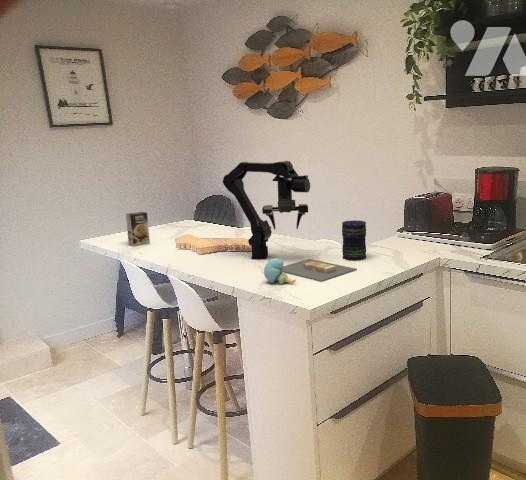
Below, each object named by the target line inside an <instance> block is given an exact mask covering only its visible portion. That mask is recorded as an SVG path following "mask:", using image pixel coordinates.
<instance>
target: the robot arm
mask: <svg viewBox="0 0 526 480" xmlns="http://www.w3.org/2000/svg"><path fill="white" fill-rule="evenodd" d="M249 172H251V173H254V172H255V173H268V174H272V175H273V176H274V175H275V177H274V178H273V179H272V182H277V206H273V205H272V204H270V205H269V204H266V205H265V204H264V205H263V206H262V209H261V210H262V211H261V213H262V215H263V214H264V215H265V217H268V218H269V220H270V222H271V224H272V227H273V230H274V231H276V219H275V215H274V214H275V213H274V212H279V213H280V214H282V213H287V214H288V213H291V212H295V211H296V212H297V218H296V230H298V229H299V225H300V222H301V219H302V217H303V216H304V215H306V214H307V213H309V205H308V204H307V203H302V204H301V203H299V204H298V205H297V206H296V199H293V193H306V194H307V193H309V192H310V191H311V182H310V179H309V176H308V174H306V175H299V174H298V172H297V171H296V170H295V168H294V166H293V163H292V162H291V161H290V160H283V161H282V160H281V161H277V162H250V161H243V162H242V161H241V162H239V163H238V164H237V166H235V167H234V168H233V169H232V170H231V171H229V172H228V174H225V175H224V177H222V178H223V179H222V184H223V186H224V187H225V189H226V190H227V191H228V192H230V193H231V194H232V195H234V198H235V200H237V201H236V202H237V203H238V205H239V206H240V208H241V210H242V211H243V213H244V215H245V217H246V219H247V220H248V222H249V224H250V231H251V235H252V236H251V237H249V239H248V240H247V242H248V244H249V246H251V260H258V259H259V260H262V259H263V260H264V259H267V258H268V256H269V246H268V245H267V242H269V240H270V238H271V237H272V233H273V231H272V227H271V225H270V224H269V221H268V220H267V219H266V220H263V219H261V217H260V216H259V214H258V211H256V209H255V207H254V205H253V203H252V201H251V200H250V198H249V196H248V194H247V192H246V191H245V185H244V181H243V179H245V176H247V173H249Z"/></svg>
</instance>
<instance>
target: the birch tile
mask: <svg viewBox="0 0 526 480" xmlns="http://www.w3.org/2000/svg"><path fill="white" fill-rule="evenodd" d="M303 269H307V270H312V271H316V272H320V273H325V274H328V273H331V272H335V271H336V266H333V265H329V264H324V263H319V262H314V261H311V262H307V263H304V264H303Z"/></svg>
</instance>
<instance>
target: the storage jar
mask: <svg viewBox="0 0 526 480" xmlns="http://www.w3.org/2000/svg"><path fill="white" fill-rule="evenodd" d="M341 225H342V226H341V232H342V234H341V235H342V245H341V246H342V248H341V249H342V260H344V259H345V260H344V261H351V262H359V261H364V260H366V259H367V244H366V236H367V226H366V225H367V222H366V221H365V220H364V221H363V220H357V219H356V220H345V221H342V222H341Z"/></svg>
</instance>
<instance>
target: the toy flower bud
mask: <svg viewBox="0 0 526 480" xmlns="http://www.w3.org/2000/svg"><path fill="white" fill-rule="evenodd" d="M282 266H285V263H284V260H282V259H281V258H272V259H270V260H269V261H267V262H266V264H265V266H264V270H263V276H264V278H265V279H266V280H267V281H268V282H269V283H271V284H274V283H275V282H278V283H279V284H280V285H284V283H290V284H294V283H296V281H297V280H296V278H294V279H290V278H289V276H288V275H287V273H284V272H283V267H282Z"/></svg>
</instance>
